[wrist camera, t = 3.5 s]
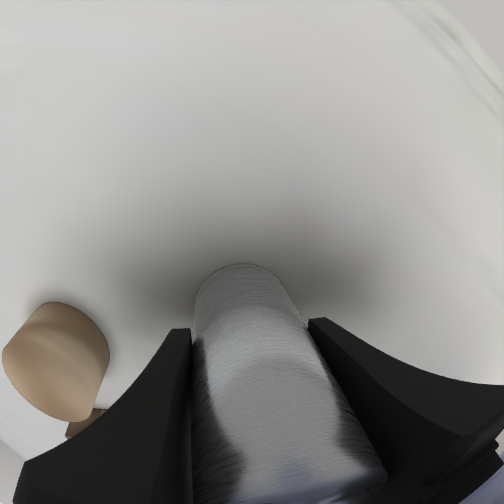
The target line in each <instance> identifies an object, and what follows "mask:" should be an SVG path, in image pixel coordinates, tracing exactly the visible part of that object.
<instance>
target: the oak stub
mask: <svg viewBox="0 0 504 504" xmlns="http://www.w3.org/2000/svg"><path fill="white" fill-rule="evenodd" d="M109 360H110V352H109V347H108V344H107V341H106V339H105V337H104V335H103V334H102V332H101V331H100V329H99V328H98V327H97V326H96V324H95V323H94V322H93V321H92V320H91V319H90V318H89V317H87V316H86V315H85V314H84V313H82V312H81V311H79V310H78V309H76V308H74V307H72V306H70V305H67V304H64V303H60V302H49V303H45V304H43V305H41V306H40V307H39V308H38V309H37V310H36V311H35V312H34V313H33V314H32V315H31V317H30V318H29V319H28V320H27V321H26V322H25V323H24V325H23V326H22V327H21V328H20V329H19V330H18V332H17V333H16V334H15V335H14V336H13V338H12V339H11V340H10V341H9V343H8V344H7V345H6V346H5V348H4V349H3V352H2V363H3V367H4V370H5V373H6V375H7V377H8V379H9V380H10V382H11V383H12V385H13V386H14V387H15V389H16V390H17V391H18V392H19V393H20V395H21V396H22V397H23V398H24V399H26V400H27V401H28V402H29V403H30V404H31V405H33V406H34V407H35V408H37V409H38V410H40V411H42V412H43V413H45V414H47V415H49V416H51V417H53V418H56V419H59V420H62V421H67V422H80V421H83V420H86V419H87V418H88V417H89V416H90V414H91V412H92V409H93V406H94V403H95V400H96V397H97V394H98V391H99V388H100V385H101V383H102V380H103V377H104V374H105V372H106V369H107V366H108V364H109Z"/></svg>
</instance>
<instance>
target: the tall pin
mask: <svg viewBox="0 0 504 504" xmlns="http://www.w3.org/2000/svg"><path fill="white" fill-rule="evenodd" d="M191 463H192V489H193V504H360V503H361V502H363V501H364V500H366V499H367V498H369V497H370V496H372V495H373V494H374V493H376V492H377V491H378V490H379V489H380V488H381V487H382V486H383V485H384V484H385V483H386V481H387V479H388V474H387V472H386V470H385V468H384V466H383V464H382V463H381V461H380V459H379V457H378V455H377V453H376V452H375V450H374V448H373V446H372V444H371V442H370V441H369V439H368V437H367V435H366V433H365V431H364V430H363V428H362V426H361V424H360V422H359V421H358V419H357V417H356V415H355V413H354V411H353V410H352V408H351V406H350V404H349V402H348V401H347V399H346V397H345V395H344V393H343V392H342V390H341V388H340V386H339V384H338V383H337V381H336V379H335V377H334V376H333V374H332V372H331V370H330V368H329V367H328V365H327V363H326V361H325V359H324V358H323V356H322V354H321V352H320V351H319V349H318V347H317V345H316V344H315V342H314V340H313V338H312V336H311V335H310V333H309V331H308V329H307V328H306V326H305V324H304V322H303V321H302V319H301V317H300V315H299V314H298V312H297V310H296V308H295V306H294V305H293V303H292V301H291V299H290V298H289V296H288V294H287V292H286V291H285V289H284V287H283V285H282V284H281V282H280V281H279V279H278V278H277V277H276V276H275V275H274V274H273V273H271V272H270V271H268V270H267V269H265V268H262V267H260V266H257V265H253V264H234V265H229V266H226V267H223V268H221V269H219V270H217V271H215V272H214V273H212V274H211V275H210V276H209V277H208V278H207V279H206V280H205V281H204V282H203V283H202V285H201V286H200V288H199V290H198V292H197V295H196V298H195V308H194V325H193V347H192V375H191Z"/></svg>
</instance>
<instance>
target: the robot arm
mask: <svg viewBox="0 0 504 504" xmlns="http://www.w3.org/2000/svg"><path fill="white" fill-rule="evenodd" d="M308 331H309V333H310V335H311V336H312V338H313V340H314V342H315V344H316V345H317V347H318V349H319V351H320V352H321V354H322V356H323V358H324V359H325V361H326V363H327V365H328V367H329V368H330V370H331V372H332V374H333V376H334V377H335V379H336V381H337V383H338V384H339V386H340V388H341V390H342V392H343V393H344V395H345V397H346V399H347V401H348V402H349V404H350V406H351V408H352V410H353V411H354V413H355V415H356V417H357V419H358V421H359V422H360V424H361V426H362V428H363V430H364V431H365V433H366V435H367V437H368V439H369V441H370V442H371V444H372V446H373V448H374V450H375V452H376V453H377V455H378V457H379V459H380V461H381V463H382V464H383V466H384V468H385V470H386V472H387V474H388V479H387V481H386V483H385V484H384V485H383V486H382V487H381V488H380V489H379V490H378V491H377V492H376V493H374V494H373V495H372V496H370V497H369V498H367V499H366V500H364V501H363V502H361V503H360V504H504V452H503V453H502V454H501V455H500V456H499V455H498V454H497V453H496V451H495V450H496V449H497V448H498V447H499V444H498V443H497V441H496V440H495V438H496V437H497V436H498V435H499V434H500V433H501V431H502V430H503V429H504V385H489V384H477V383H471V382H465V381H459V380H455V379H451V378H447V377H443V376H440V375H436V374H433V373H430V372H427V371H424V370H421V369H419V368H416V367H414V366H411V365H409V364H406V363H404V362H402V361H400V360H397V359H395V358H393V357H391V356H390V355H388V354H386V353H384V352H382V351H380V350H378V349H376V348H375V347H373V346H371V345H369V344H368V343H366V342H364V341H363V340H361V339H359V338H358V337H356V336H355V335H353V334H351V333H350V332H348V331H347V330H345V329H344V328H342V327H340V326H339V325H337V324H336V323H334V322H332V321H331V320H329V319H327V318H325V317H322V318H314V319H309V321H308ZM192 347H193V345H192V338H191V330H190V328H184V329H172V330H171V331H170V332H169V333H168V335H167V337H166V338H165V340H164V342H163V343H162V345H161V346H160V348H159V349H158V351H157V352H156V354H155V355H154V356H153V358H152V359H151V361H150V362H149V363H148V365H147V366H146V368H145V369H144V370H143V371H142V373H141V374H140V375H139V376H138V378H137V379H136V380H135V381H134V382H133V384H132V385H131V386H130V387H129V388H128V389H127V391H126V392H125V393H124V394H123V395H122V396H121V397H120V398H119V399H118V400H117V401H116V402H115V403H114V404H113V405H112V406H111V407H110V408H109V409H108V410H106V411H105V412H104V413H103V414H102V415H101V416H100V417H98V418H97V419H96V420H95V421H94V422H92V423H91V424H90V425H89V426H87V427H86V428H85V429H83V430H82V431H80V432H79V433H77V434H76V435H75V436H73V437H72V438H70V439H68V440H67V441H65V442H64V443H62V444H60V445H58V446H57V447H55V448H53V449H51V450H49V451H47V452H45V453H43V454H41V455H39V456H37V457H35V458H32V459H30V460H28V461H26V462H25V463H24V465H23V468H22V471H21V474H20V477H19V480H18V483H17V487H16V490H15V494H14V497H13V504H193V489H192V463H191V375H192Z"/></svg>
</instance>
